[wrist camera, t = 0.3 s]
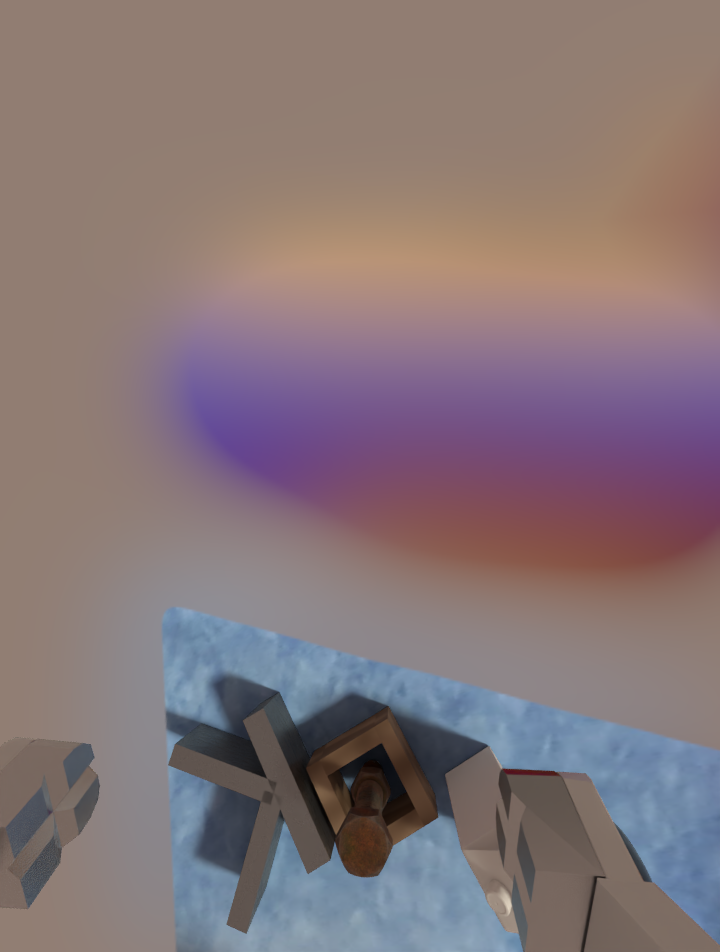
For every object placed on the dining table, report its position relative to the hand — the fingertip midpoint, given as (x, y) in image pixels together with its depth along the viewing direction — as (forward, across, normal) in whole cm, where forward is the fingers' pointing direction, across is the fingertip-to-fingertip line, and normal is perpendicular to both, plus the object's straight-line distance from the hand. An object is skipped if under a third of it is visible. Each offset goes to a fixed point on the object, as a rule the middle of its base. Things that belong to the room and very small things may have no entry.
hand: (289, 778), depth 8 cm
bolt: (+37, 0, -44) cm, 57 cm away
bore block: (+37, 0, -44) cm, 57 cm away
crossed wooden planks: (+36, -15, -46) cm, 60 cm away
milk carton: (+36, +15, -44) cm, 59 cm away
